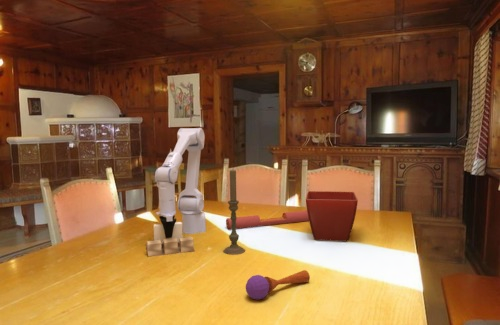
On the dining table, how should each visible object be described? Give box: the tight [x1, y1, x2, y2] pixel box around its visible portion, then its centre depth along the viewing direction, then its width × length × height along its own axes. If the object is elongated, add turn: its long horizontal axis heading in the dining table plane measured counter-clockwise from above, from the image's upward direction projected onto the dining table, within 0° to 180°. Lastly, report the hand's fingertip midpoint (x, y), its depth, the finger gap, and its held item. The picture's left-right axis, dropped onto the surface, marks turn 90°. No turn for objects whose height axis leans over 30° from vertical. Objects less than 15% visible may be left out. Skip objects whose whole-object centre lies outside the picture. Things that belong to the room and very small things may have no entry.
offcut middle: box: [163, 238, 179, 255], centre depth 127 cm, size 4×4×4 cm
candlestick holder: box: [222, 169, 246, 256], centre depth 125 cm, size 9×9×30 cm
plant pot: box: [305, 190, 359, 242], centre depth 145 cm, size 19×19×17 cm
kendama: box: [245, 269, 311, 300], centre depth 97 cm, size 6×6×20 cm
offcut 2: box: [179, 236, 195, 253], centre depth 128 cm, size 4×4×4 cm
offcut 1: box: [146, 239, 163, 257], centre depth 125 cm, size 4×4×4 cm
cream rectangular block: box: [153, 221, 184, 244], centre depth 133 cm, size 10×3×8 cm, turn 109°
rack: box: [145, 239, 195, 258], centre depth 131 cm, size 16×14×2 cm
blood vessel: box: [225, 210, 309, 231], centre depth 166 cm, size 42×5×5 cm, turn 110°
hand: (168, 236), depth 133 cm, fingers closed on cream rectangular block, 3 cm apart
